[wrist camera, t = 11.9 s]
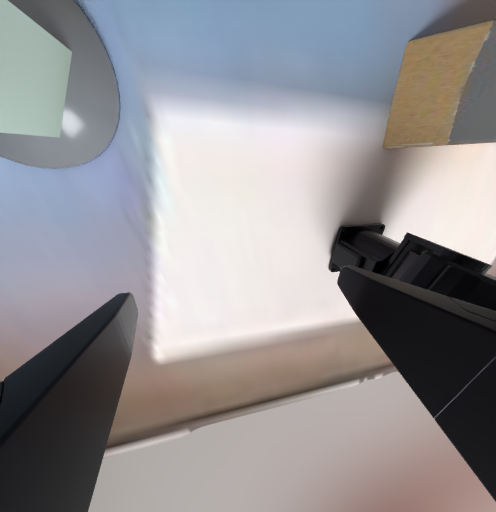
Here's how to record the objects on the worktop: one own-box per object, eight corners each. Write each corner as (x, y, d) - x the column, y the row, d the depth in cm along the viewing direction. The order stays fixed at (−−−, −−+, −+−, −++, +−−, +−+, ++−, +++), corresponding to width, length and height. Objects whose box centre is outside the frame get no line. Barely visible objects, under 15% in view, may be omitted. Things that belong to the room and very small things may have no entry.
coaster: (89, -45, 11) (83, -54, 10) (136, 168, 16) (134, 169, 16) (-201, -108, 9) (-226, -124, 8) (-34, 167, 14) (-43, 168, 13)
